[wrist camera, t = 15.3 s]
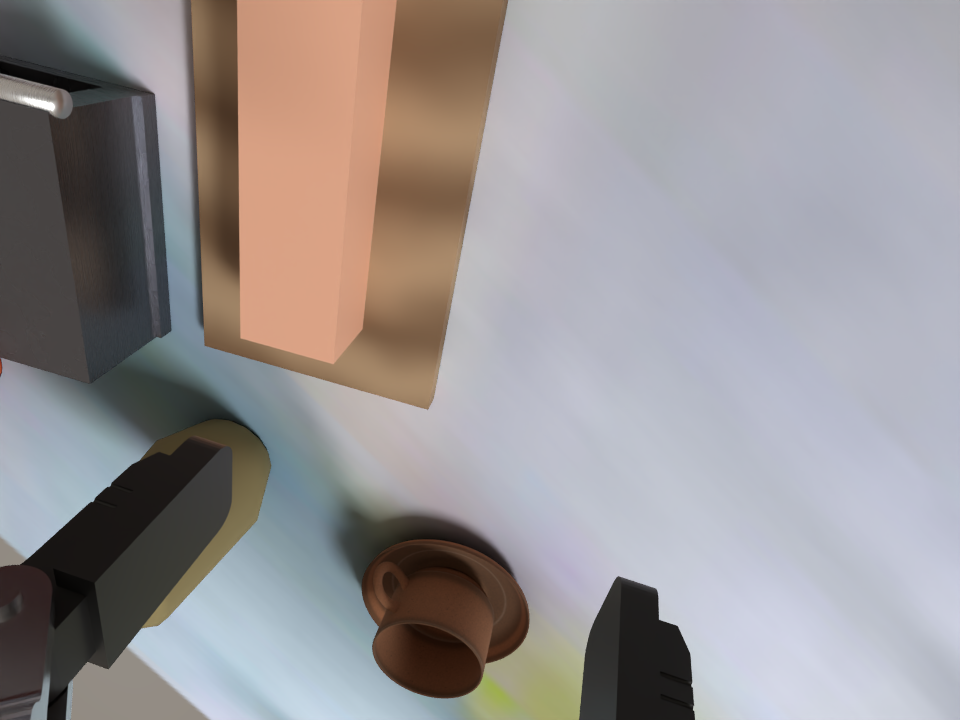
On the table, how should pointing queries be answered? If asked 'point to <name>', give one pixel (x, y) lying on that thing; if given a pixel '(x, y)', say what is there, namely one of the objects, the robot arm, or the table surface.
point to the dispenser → (78, 222)
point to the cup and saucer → (441, 615)
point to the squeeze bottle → (245, 506)
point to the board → (399, 201)
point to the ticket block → (309, 166)
